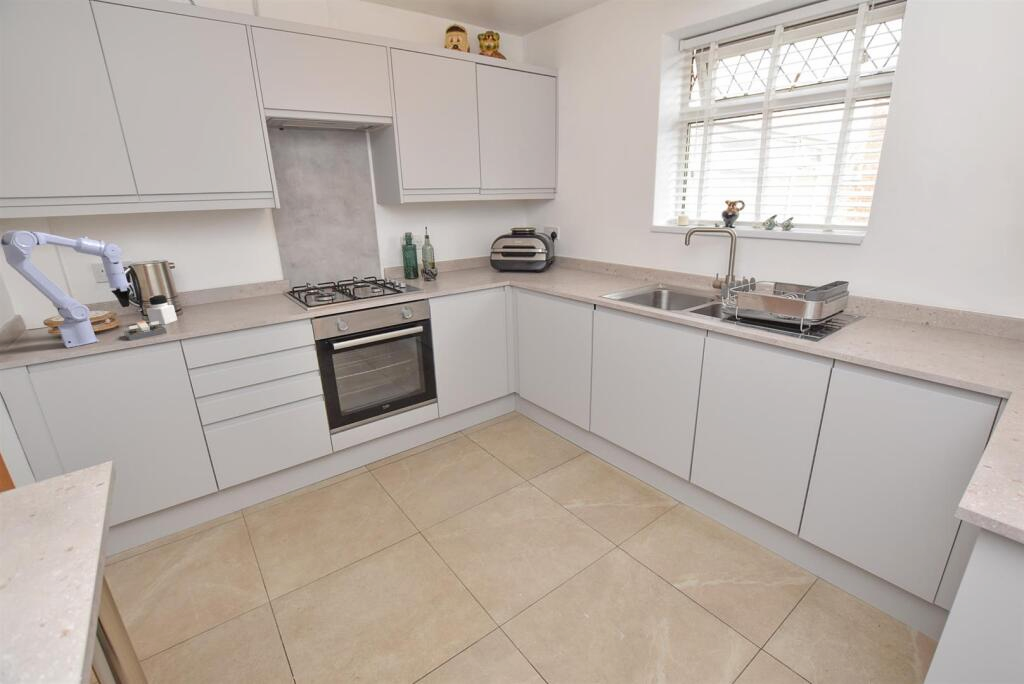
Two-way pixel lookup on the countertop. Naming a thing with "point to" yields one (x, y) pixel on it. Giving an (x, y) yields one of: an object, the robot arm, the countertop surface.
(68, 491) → the countertop surface
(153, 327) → the console
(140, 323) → the rocker
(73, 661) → the countertop surface
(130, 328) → the rocker
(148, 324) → the rocker
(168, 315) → the medicine bottle
